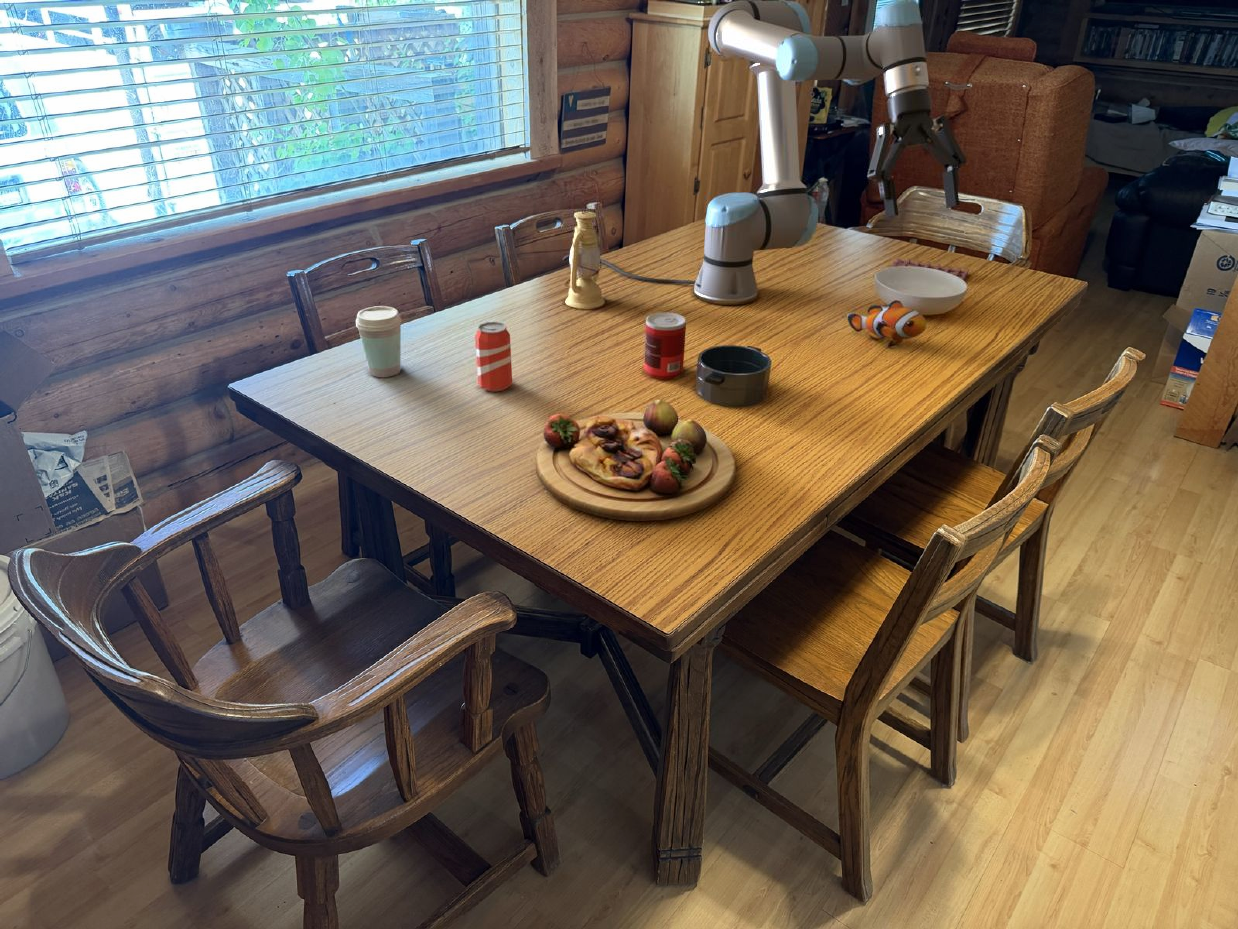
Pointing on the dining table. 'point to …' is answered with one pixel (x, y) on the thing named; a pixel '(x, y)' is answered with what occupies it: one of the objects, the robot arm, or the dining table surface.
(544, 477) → the wooden plate
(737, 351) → the pot
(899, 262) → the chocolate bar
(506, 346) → the beverage can
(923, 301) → the serving bowl
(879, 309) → the fish
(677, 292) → the dining table surface
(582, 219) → the lantern
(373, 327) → the coffee cup
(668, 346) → the canned food
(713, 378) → the pot handles
